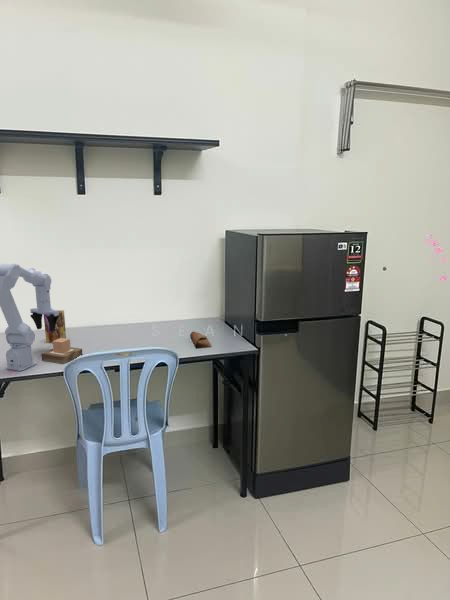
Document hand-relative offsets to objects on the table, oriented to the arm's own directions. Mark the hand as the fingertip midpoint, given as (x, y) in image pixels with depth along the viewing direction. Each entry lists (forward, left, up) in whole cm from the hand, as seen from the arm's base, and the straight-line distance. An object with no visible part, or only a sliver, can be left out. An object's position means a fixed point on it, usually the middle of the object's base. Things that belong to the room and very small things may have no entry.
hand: (45, 329), depth 201 cm
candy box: (+14, +8, -11) cm, 19 cm away
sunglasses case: (+39, -59, -11) cm, 71 cm away
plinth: (-4, -12, -10) cm, 16 cm away
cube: (-4, -12, -7) cm, 15 cm away
